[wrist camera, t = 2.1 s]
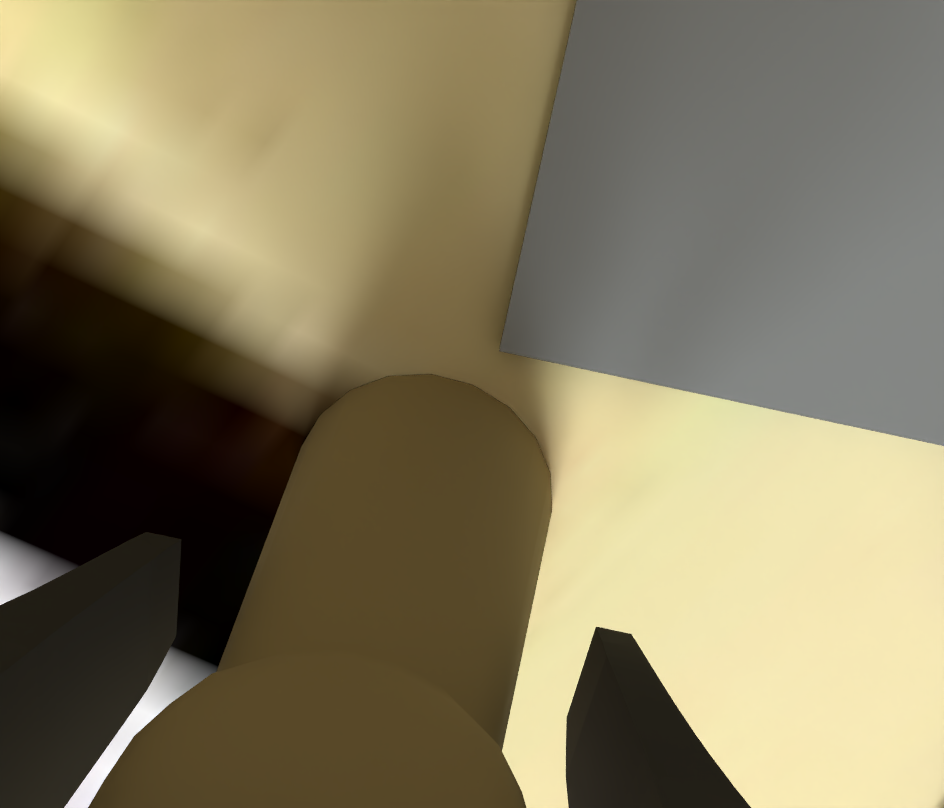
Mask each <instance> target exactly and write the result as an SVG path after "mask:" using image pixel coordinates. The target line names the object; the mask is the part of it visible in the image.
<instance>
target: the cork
mask: <svg viewBox="0 0 944 808" xmlns="http://www.w3.org/2000/svg"><path fill="white" fill-rule="evenodd" d="M551 513H552V501H551V474H550V472H549V469H548V467H547V464H546V462H545V459H544V457H543V454H542V452H541V449H540V447H539V444H538V442H537V439H536V438H535V437H534V435H533V434H532V433H531V432H530V431H529V430H528V428H527V427H526V426H525V425H524V424H523V423H522V421H521V420H520V419H519V418H518V417H517V416H516V414H515V413H514V412H513V411H512V410H511V409H510V408H509V407H508V406H506V405H505V404H503V403H501V402H500V401H498V400H496V399H495V398H493V397H492V396H490V395H488V394H487V393H485V392H483V391H482V390H480V389H479V388H477V387H475V386H474V385H471V384H467V383H463V382H459V381H455V380H451V379H448V378H444V377H440V376H436V375H432V374H426V375H402V376H388V377H385V378H382V379H379V380H377V381H374V382H371V383H369V384H366V385H363V386H360V387H358V388H355V389H352V390H350V391H349V392H348V393H346V394H345V395H344V396H343V397H341V398H340V399H339V400H338V401H337V402H335V403H334V404H333V405H332V406H330V407H329V408H328V409H327V410H326V411H324V412H323V413H322V414H321V415H320V416H319V418H318V420H317V421H316V423H315V425H314V426H313V428H312V430H311V431H310V433H309V435H308V436H307V438H306V440H305V442H304V443H303V445H302V447H301V449H300V452H299V455H298V457H297V460H296V463H295V465H294V468H293V471H292V473H291V476H290V479H289V481H288V484H287V486H286V489H285V492H284V494H283V497H282V500H281V502H280V505H279V508H278V510H277V513H276V516H275V518H274V521H273V524H272V526H271V529H270V532H269V534H268V537H267V539H266V542H265V545H264V547H263V550H262V553H261V555H260V558H259V561H258V563H257V566H256V569H255V571H254V574H253V577H252V579H251V582H250V585H249V587H248V590H247V593H246V595H245V598H244V600H243V603H242V606H241V608H240V611H239V614H238V616H237V619H236V622H235V624H234V627H233V630H232V632H231V635H230V638H229V640H228V643H227V646H226V648H225V651H224V653H223V656H222V659H221V661H220V664H219V667H218V669H217V672H216V673H212V674H211V675H210V676H208V677H207V678H205V679H204V680H203V681H201V682H200V683H199V684H197V685H196V686H194V687H193V688H192V689H190V690H189V691H187V692H186V693H185V694H183V695H182V696H180V697H179V698H178V699H176V700H175V701H173V702H172V703H171V704H169V705H168V706H167V707H166V708H165V709H164V710H163V711H162V712H160V713H159V714H158V715H157V716H156V717H155V718H154V719H153V720H152V721H151V722H149V723H148V724H147V725H146V726H145V727H144V728H143V729H142V730H141V731H139V732H138V733H137V734H136V735H135V736H134V737H133V739H132V740H131V742H130V743H129V745H128V746H127V748H126V749H125V751H124V752H123V754H122V755H121V756H120V758H119V759H118V761H117V762H116V764H115V765H114V767H113V768H112V770H111V771H110V773H109V774H108V776H107V777H106V779H105V780H104V782H103V784H102V785H101V787H100V789H99V790H98V792H97V794H96V795H95V797H94V799H93V800H92V802H91V804H90V806H89V807H88V808H526V805H525V802H524V798H523V795H522V791H521V789H520V787H519V785H518V783H517V781H516V779H515V777H514V775H513V773H512V771H511V769H510V767H509V765H508V763H507V761H506V759H505V757H504V755H503V753H502V748H503V743H504V738H505V733H506V729H507V724H508V719H509V714H510V709H511V705H512V700H513V695H514V690H515V685H516V681H517V676H518V671H519V666H520V661H521V657H522V652H523V647H524V642H525V637H526V633H527V628H528V623H529V618H530V613H531V609H532V604H533V599H534V594H535V589H536V585H537V580H538V575H539V570H540V565H541V561H542V556H543V551H544V546H545V541H546V537H547V532H548V527H549V522H550V517H551Z"/></svg>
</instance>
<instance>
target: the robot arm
mask: <svg viewBox="0 0 944 808" xmlns="http://www.w3.org/2000/svg"><path fill="white" fill-rule="evenodd" d="M180 555H181V539H176V538H172V537H167V536H162V535H157V534H153V533H148V532H146V533H144V534H141V535H139V536H137V537H135V538H133V539H131V540H129V541H127V542H125V543H123V544H121V545H119V546H118V547H116V548H114V549H112V550H110V551H108V552H106V553H104V554H102V555H100V556H99V557H97V558H95V559H93V560H91V561H89V562H87V563H85V564H83V565H81V566H79V567H78V568H76V569H74V570H72V571H70V572H68V573H66V574H64V575H62V576H60V577H58V578H56V579H54V580H52V581H50V582H48V583H46V584H44V585H42V586H40V587H38V588H36V589H34V590H32V591H30V592H28V593H26V594H24V595H21V596H19V597H17V598H15V599H13V600H11V601H8V602H6V603H4V604H2V605H0V808H64V807H65V806H66V804H67V803H68V801H69V800H70V798H71V797H72V796H73V794H74V793H75V791H76V790H77V789H78V787H79V786H80V784H81V783H82V782H83V780H84V779H85V777H86V776H87V775H88V773H89V772H90V770H91V769H92V767H93V766H94V765H95V763H96V762H97V760H98V759H99V758H100V756H101V755H102V753H103V752H104V751H105V749H106V748H107V746H108V745H109V744H110V742H111V741H112V739H113V738H114V737H115V735H116V734H117V732H118V731H119V729H120V728H121V727H122V725H123V724H124V722H125V721H126V719H127V718H128V717H129V715H130V714H131V712H132V711H133V709H134V708H135V707H136V705H137V704H138V702H139V701H140V699H141V698H142V696H143V695H144V693H145V692H146V691H147V689H148V687H149V685H150V684H151V682H152V680H153V678H154V676H155V675H156V673H157V671H158V669H159V667H160V666H161V664H162V662H163V660H164V658H165V656H166V654H167V652H168V650H169V648H170V646H171V644H172V642H173V640H174V639H175V637H176V628H177V610H178V591H179V573H180ZM566 783H567V794H568V804H569V808H751V807H750V806H749V805H748V803H747V802H746V801H745V800H744V798H743V797H742V796H741V795H740V793H739V792H738V791H737V790H736V789H735V787H734V786H733V785H732V783H731V782H730V781H729V779H728V778H727V777H726V775H725V774H724V773H723V771H722V770H721V769H720V767H719V766H718V765H717V764H716V762H715V761H714V760H713V758H712V757H711V756H710V754H709V753H708V751H707V750H706V749H705V747H704V746H703V744H702V743H701V742H700V740H699V739H698V737H697V736H696V735H695V733H694V732H693V730H692V729H691V727H690V726H689V724H688V723H687V721H686V720H685V718H684V717H683V715H682V714H681V712H680V711H679V709H678V708H677V706H676V705H675V703H674V702H673V700H672V699H671V697H670V695H669V694H668V692H667V691H666V689H665V687H664V686H663V684H662V683H661V681H660V679H659V678H658V676H657V675H656V673H655V671H654V670H653V668H652V667H651V665H650V663H649V662H648V660H647V658H646V657H645V655H644V654H643V652H642V650H641V649H640V647H639V646H638V644H637V642H636V641H635V639H634V638H633V636H632V635H631V634H628V633H623V632H619V631H614V630H609V629H604V628H600V627H596V629H595V632H594V635H593V638H592V641H591V644H590V647H589V650H588V653H587V657H586V660H585V663H584V666H583V669H582V672H581V675H580V678H579V681H578V684H577V687H576V691H575V694H574V697H573V700H572V703H571V706H570V709H569V712H568V715H567V730H566Z"/></svg>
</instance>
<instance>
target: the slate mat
mask: <svg viewBox="0 0 944 808" xmlns="http://www.w3.org/2000/svg"><path fill="white" fill-rule="evenodd" d="M500 351H501V352H506V353H511V354H515V355H520V356H525V357H529V358H534V359H539V360H543V361H548V362H553V363H557V364H562V365H567V366H571V367H576V368H581V369H586V370H590V371H595V372H600V373H604V374H609V375H614V376H618V377H623V378H628V379H632V380H637V381H642V382H647V383H651V384H656V385H661V386H665V387H670V388H675V389H679V390H684V391H689V392H693V393H698V394H703V395H708V396H712V397H717V398H722V399H726V400H731V401H736V402H740V403H745V404H750V405H754V406H759V407H764V408H769V409H773V410H778V411H783V412H787V413H792V414H797V415H801V416H806V417H811V418H815V419H820V420H825V421H829V422H834V423H839V424H844V425H848V426H853V427H858V428H862V429H867V430H872V431H876V432H881V433H886V434H890V435H895V436H900V437H905V438H909V439H914V440H919V441H923V442H928V443H933V444H937V445H942V446H944V0H577V1H576V6H575V10H574V15H573V19H572V24H571V28H570V33H569V38H568V42H567V47H566V51H565V56H564V60H563V65H562V69H561V74H560V78H559V83H558V87H557V92H556V96H555V101H554V105H553V110H552V114H551V119H550V123H549V128H548V132H547V137H546V141H545V146H544V150H543V155H542V159H541V164H540V168H539V173H538V177H537V182H536V186H535V191H534V195H533V200H532V204H531V209H530V213H529V218H528V222H527V227H526V231H525V236H524V240H523V245H522V249H521V254H520V258H519V263H518V267H517V272H516V276H515V281H514V285H513V290H512V294H511V299H510V303H509V308H508V312H507V317H506V321H505V326H504V330H503V335H502V339H501V344H500Z"/></svg>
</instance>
